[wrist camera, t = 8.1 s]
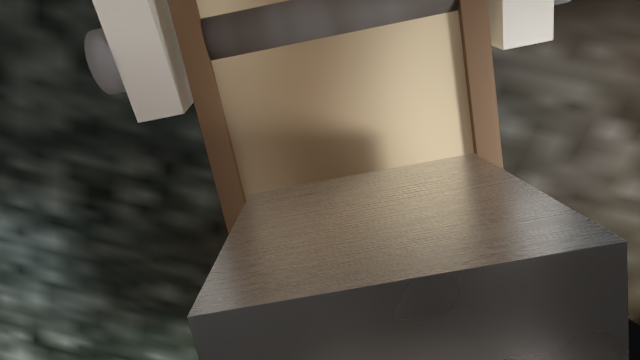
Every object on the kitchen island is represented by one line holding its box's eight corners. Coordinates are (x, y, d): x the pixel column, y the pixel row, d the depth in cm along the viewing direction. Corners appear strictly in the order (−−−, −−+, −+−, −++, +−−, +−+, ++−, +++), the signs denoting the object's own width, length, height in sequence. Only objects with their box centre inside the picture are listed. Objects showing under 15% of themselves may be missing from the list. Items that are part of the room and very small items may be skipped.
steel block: (475, 153, 10) (627, 241, 5) (495, 350, 11) (633, 574, 6) (249, 194, 10) (186, 317, 5) (294, 384, 11) (277, 625, 6)
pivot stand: (458, -120, 17) (591, -197, 9) (467, 47, 19) (577, 96, 12) (151, -53, 17) (32, -74, 10) (198, 101, 20) (134, 181, 12)
